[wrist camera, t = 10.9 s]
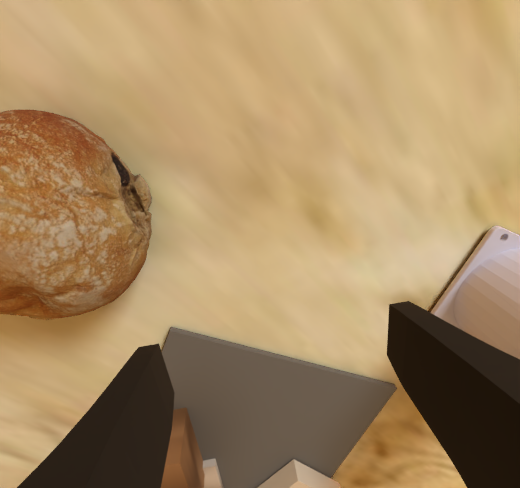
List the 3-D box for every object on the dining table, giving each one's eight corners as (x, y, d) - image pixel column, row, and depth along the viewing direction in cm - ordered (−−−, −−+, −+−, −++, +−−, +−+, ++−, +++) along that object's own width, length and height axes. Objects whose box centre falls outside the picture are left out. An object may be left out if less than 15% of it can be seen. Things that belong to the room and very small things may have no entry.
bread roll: (174, 231, 22) (211, 248, 15) (40, 337, 20) (12, 417, 13) (66, 98, 19) (51, 39, 12) (-120, 206, 16) (-292, 216, 9)
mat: (394, 384, 26) (396, 388, 25) (281, 539, 33) (281, 544, 32) (171, 327, 21) (170, 330, 21) (97, 520, 28) (95, 525, 28)
